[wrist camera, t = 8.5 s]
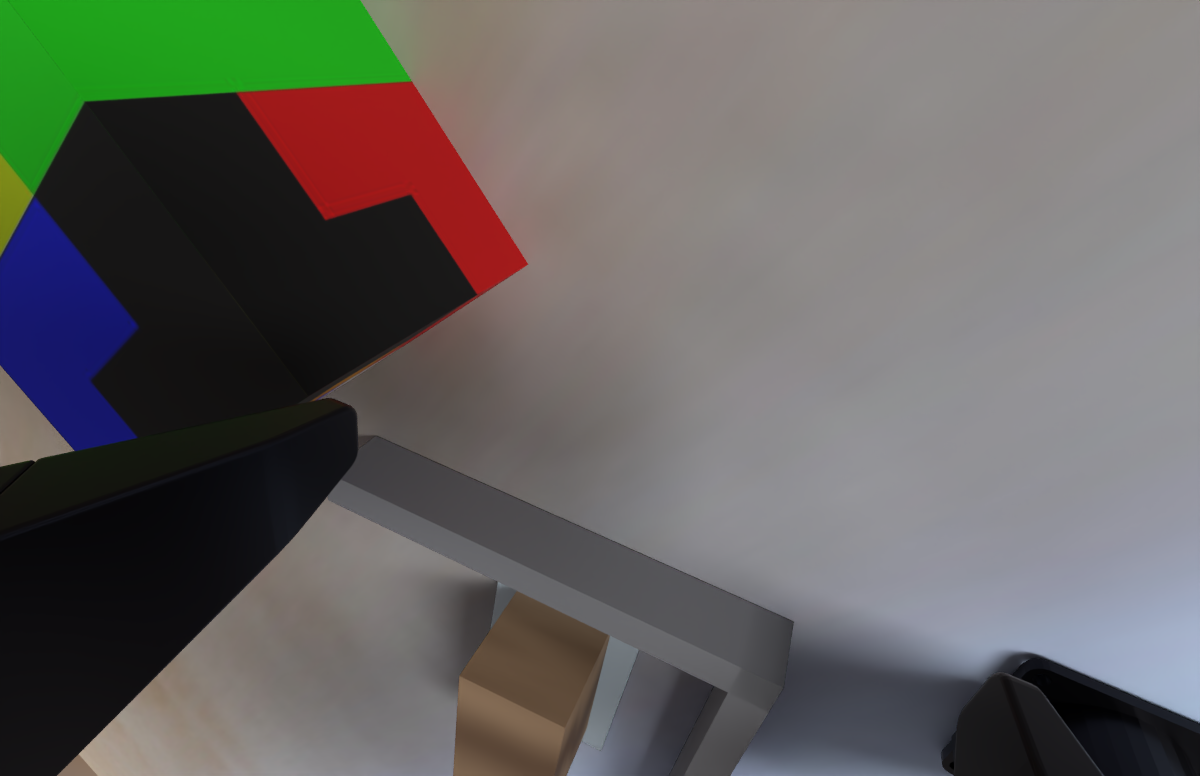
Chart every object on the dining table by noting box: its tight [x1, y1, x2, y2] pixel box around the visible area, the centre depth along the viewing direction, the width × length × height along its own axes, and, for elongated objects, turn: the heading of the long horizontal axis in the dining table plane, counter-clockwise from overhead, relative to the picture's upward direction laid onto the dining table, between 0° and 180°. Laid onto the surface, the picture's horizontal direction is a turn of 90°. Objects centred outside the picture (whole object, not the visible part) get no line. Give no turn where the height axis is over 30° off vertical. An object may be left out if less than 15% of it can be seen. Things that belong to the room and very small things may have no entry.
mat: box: [490, 582, 639, 751], centre depth 30 cm, size 7×10×1 cm
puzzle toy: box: [0, 0, 528, 451], centre depth 19 cm, size 10×10×10 cm
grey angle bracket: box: [328, 436, 794, 776], centre depth 29 cm, size 19×17×3 cm
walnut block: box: [453, 591, 610, 776], centre depth 28 cm, size 8×4×5 cm, turn 170°
